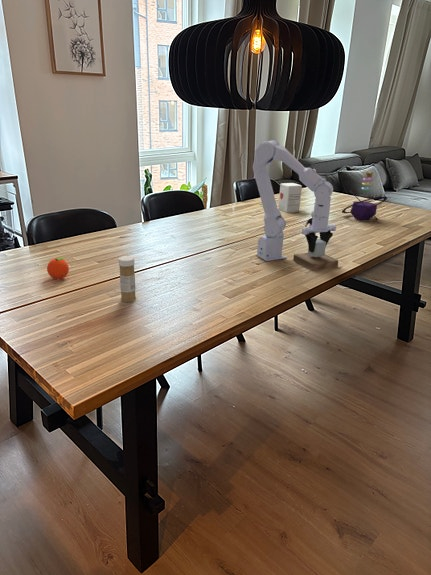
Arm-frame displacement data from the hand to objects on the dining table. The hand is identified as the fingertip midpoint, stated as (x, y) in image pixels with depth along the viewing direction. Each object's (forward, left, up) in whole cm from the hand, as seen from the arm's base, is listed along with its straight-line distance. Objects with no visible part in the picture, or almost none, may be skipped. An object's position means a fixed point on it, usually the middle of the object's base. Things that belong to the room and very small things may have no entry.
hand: (316, 250), depth 169 cm
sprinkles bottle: (-75, -5, -5) cm, 75 cm away
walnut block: (0, 0, -6) cm, 6 cm away
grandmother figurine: (+21, +29, -5) cm, 36 cm away
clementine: (-91, +21, -5) cm, 94 cm away
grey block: (0, 0, -2) cm, 2 cm away
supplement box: (+43, +79, -5) cm, 90 cm away
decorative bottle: (+69, +48, -5) cm, 84 cm away
